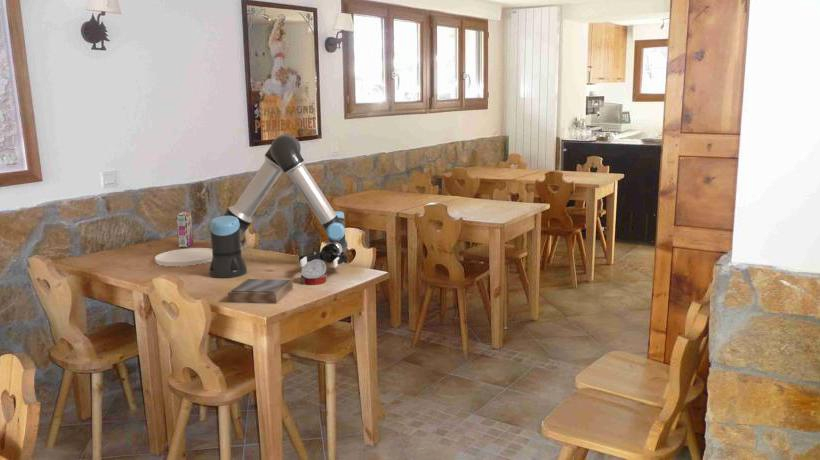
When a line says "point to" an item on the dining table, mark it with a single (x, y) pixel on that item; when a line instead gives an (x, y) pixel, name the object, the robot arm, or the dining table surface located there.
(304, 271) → the canned food
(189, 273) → the dining table surface
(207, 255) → the plate
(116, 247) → the dining table surface
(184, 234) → the candy bar box
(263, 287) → the display podium
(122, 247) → the dining table surface
